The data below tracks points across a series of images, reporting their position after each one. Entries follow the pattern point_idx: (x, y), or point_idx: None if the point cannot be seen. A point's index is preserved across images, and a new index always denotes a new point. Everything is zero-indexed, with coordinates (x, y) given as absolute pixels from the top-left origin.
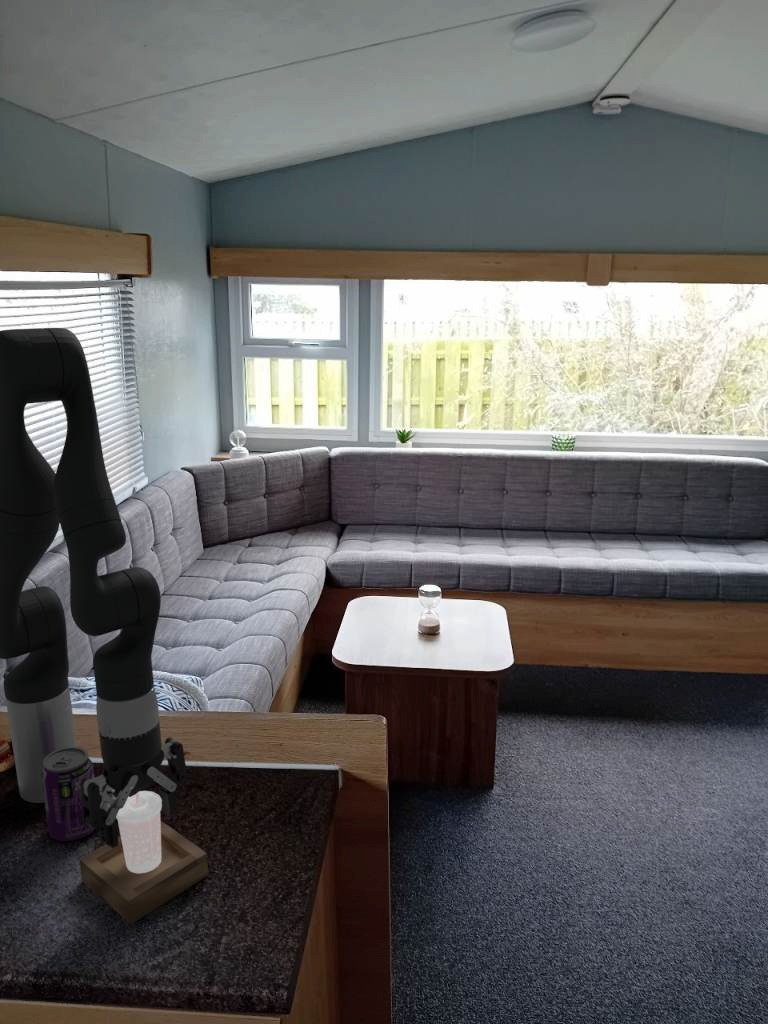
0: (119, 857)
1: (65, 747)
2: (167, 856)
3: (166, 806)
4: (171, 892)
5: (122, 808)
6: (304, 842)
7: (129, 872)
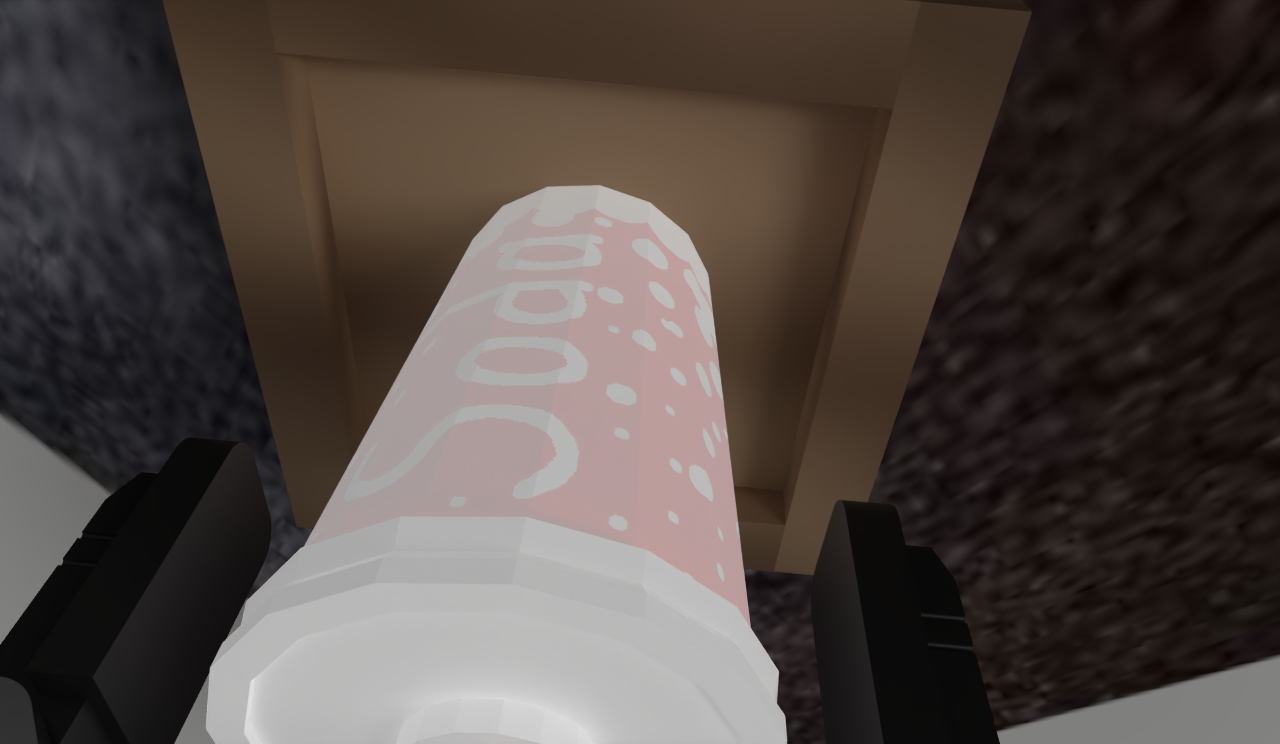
0: (489, 114)
1: None
2: (724, 370)
3: (829, 653)
4: None
5: (324, 688)
6: (1258, 629)
7: None
